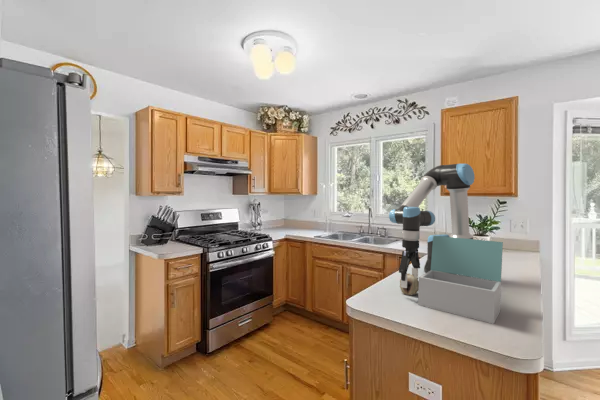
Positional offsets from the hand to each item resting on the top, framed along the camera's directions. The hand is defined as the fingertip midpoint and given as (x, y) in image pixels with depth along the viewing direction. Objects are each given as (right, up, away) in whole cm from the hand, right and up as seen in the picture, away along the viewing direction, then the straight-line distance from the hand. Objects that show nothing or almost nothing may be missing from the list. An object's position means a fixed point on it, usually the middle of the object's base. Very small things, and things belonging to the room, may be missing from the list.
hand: (409, 284), depth 138 cm
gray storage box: (+14, -5, -17) cm, 22 cm away
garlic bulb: (0, -5, 0) cm, 5 cm away
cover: (+20, +15, -10) cm, 27 cm away
